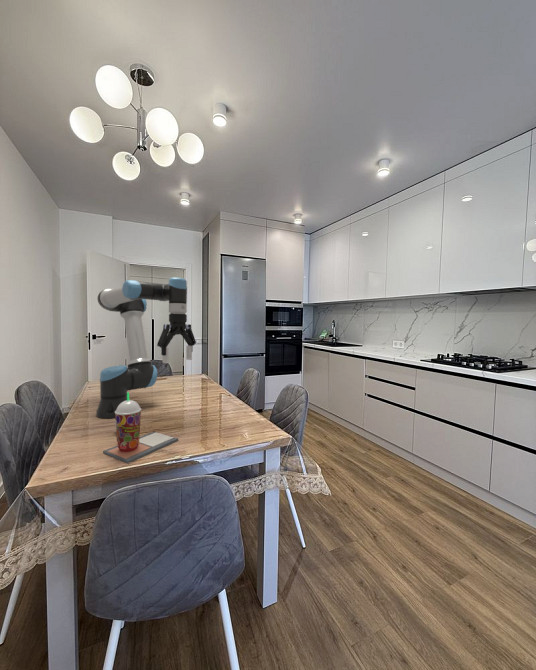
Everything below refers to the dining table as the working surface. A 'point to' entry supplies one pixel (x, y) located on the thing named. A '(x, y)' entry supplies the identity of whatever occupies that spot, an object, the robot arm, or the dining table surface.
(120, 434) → the smoothie
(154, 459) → the dining table surface
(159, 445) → the game board
